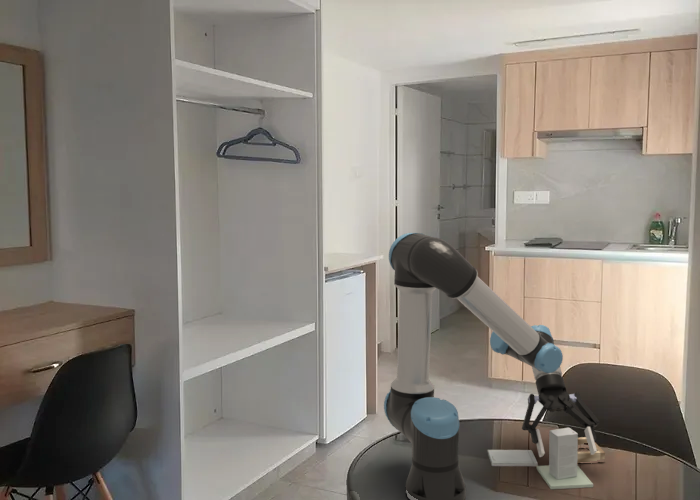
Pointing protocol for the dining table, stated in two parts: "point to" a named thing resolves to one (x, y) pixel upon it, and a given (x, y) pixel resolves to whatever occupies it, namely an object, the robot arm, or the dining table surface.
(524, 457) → the hard drive
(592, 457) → the cradle
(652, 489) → the dining table surface
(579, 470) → the pad
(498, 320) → the robot arm
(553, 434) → the skincare box
